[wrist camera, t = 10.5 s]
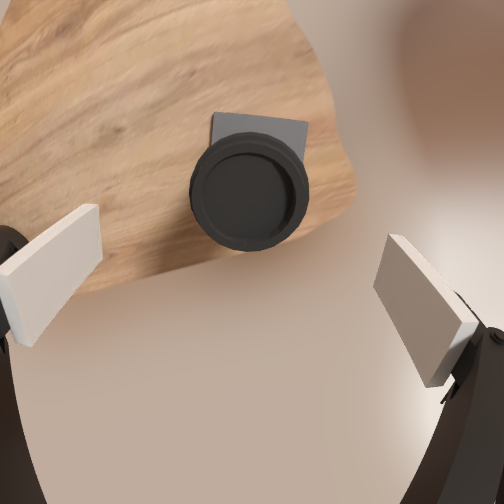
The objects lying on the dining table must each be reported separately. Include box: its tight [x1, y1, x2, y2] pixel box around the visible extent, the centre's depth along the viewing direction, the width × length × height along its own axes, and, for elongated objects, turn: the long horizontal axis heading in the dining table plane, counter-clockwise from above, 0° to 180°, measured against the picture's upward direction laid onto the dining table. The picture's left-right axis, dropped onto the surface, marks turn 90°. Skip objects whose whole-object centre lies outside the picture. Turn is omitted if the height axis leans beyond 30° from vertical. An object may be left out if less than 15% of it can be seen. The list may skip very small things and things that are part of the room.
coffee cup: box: [189, 132, 309, 252], centre depth 27 cm, size 8×8×15 cm
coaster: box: [211, 112, 308, 163], centre depth 34 cm, size 10×10×1 cm
